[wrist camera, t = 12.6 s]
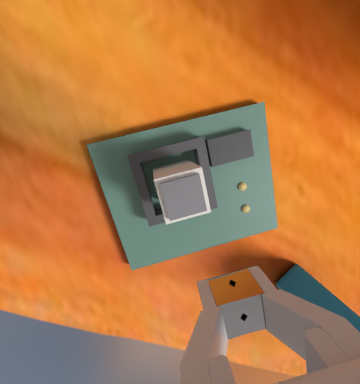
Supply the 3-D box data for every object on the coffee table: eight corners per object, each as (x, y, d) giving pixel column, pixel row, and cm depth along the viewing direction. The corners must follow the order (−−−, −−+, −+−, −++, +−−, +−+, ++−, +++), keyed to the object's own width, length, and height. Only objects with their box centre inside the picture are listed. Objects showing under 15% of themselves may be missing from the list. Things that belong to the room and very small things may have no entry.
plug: (187, 159, 23) (203, 167, 16) (195, 195, 24) (213, 219, 17) (153, 167, 22) (153, 180, 15) (163, 204, 24) (167, 231, 17)
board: (258, 103, 23) (274, 98, 20) (272, 224, 28) (287, 234, 25) (89, 144, 22) (79, 145, 19) (132, 264, 26) (130, 281, 23)
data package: (334, 298, 33) (430, 382, 22) (314, 316, 34) (398, 408, 22) (292, 259, 30) (379, 333, 18) (270, 280, 30) (343, 365, 19)
